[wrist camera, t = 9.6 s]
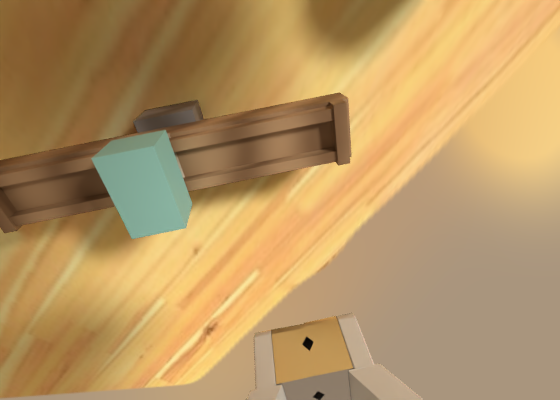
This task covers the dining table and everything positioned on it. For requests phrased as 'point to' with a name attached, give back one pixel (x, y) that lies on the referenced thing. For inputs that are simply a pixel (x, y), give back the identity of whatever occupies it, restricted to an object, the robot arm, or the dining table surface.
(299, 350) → the robot arm
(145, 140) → the block
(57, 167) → the beam
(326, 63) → the dining table surface
